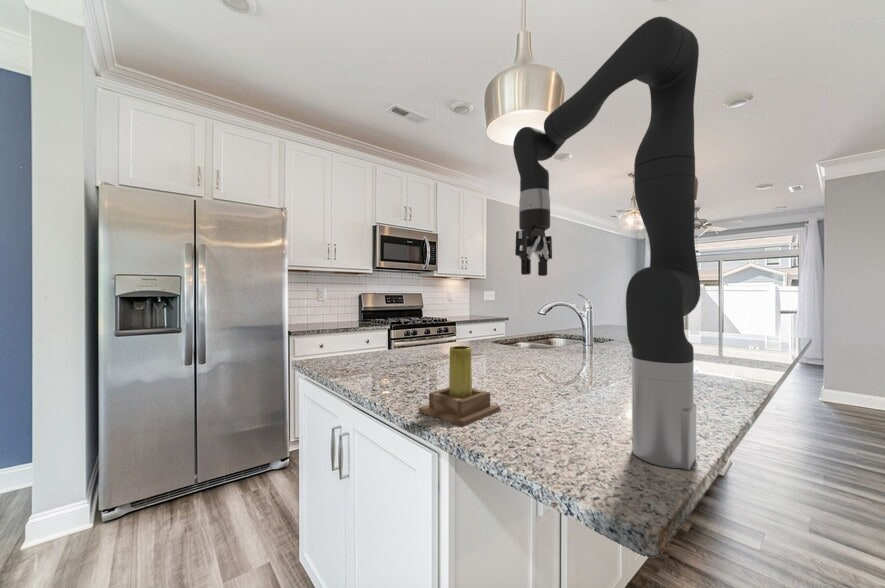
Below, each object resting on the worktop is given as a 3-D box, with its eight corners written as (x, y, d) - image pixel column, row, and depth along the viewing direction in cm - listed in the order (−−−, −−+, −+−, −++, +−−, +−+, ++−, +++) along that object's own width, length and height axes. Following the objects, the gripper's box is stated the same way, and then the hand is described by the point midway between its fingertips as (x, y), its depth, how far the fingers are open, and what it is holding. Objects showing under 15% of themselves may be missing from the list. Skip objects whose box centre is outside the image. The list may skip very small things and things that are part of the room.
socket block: (500, 410, 90) (500, 392, 90) (463, 426, 79) (463, 405, 79) (456, 399, 99) (456, 382, 99) (418, 411, 89) (418, 393, 89)
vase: (473, 402, 92) (473, 345, 92) (473, 410, 86) (472, 349, 86) (449, 402, 93) (448, 345, 93) (447, 409, 87) (446, 349, 87)
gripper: (534, 202, 84) (534, 273, 84) (561, 212, 95) (561, 275, 95) (506, 208, 89) (506, 274, 89) (535, 216, 100) (535, 276, 100)
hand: (534, 275), depth 92 cm, fingers open, 8 cm apart
